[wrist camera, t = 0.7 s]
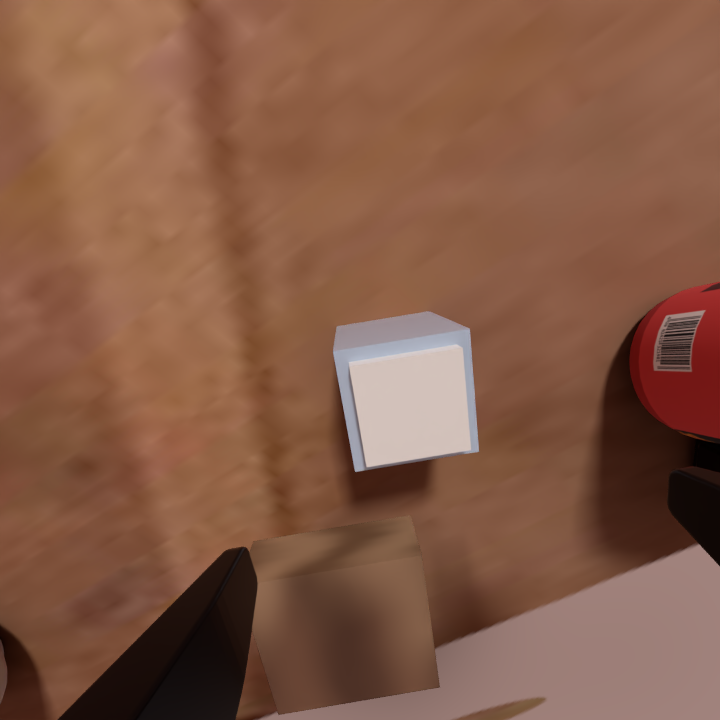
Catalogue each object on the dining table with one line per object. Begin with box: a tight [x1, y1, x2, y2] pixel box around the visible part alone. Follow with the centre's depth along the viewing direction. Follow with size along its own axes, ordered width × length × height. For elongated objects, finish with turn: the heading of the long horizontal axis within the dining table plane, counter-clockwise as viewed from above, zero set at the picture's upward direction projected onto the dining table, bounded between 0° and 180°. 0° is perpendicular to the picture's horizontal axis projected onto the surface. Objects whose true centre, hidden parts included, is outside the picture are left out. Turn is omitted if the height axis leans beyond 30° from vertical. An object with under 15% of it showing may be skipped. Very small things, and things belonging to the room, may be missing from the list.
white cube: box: [333, 311, 479, 472], centre depth 15 cm, size 5×5×7 cm
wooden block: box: [250, 515, 440, 715], centre depth 21 cm, size 10×10×4 cm
